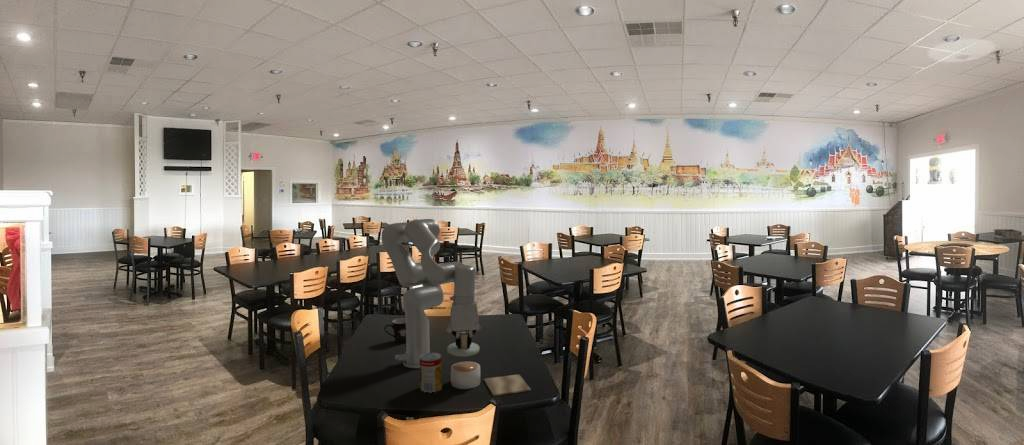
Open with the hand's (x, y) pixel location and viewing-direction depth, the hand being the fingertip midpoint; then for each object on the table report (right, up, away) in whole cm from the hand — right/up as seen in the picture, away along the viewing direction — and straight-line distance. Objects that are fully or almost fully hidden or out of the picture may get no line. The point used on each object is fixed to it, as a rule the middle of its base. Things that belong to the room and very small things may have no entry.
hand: (463, 346), depth 178 cm
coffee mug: (-35, -10, +47) cm, 60 cm away
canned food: (-11, -14, -4) cm, 19 cm away
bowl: (+1, -14, 0) cm, 14 cm away
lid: (0, -1, 0) cm, 1 cm away
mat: (+16, -14, -2) cm, 21 cm away
